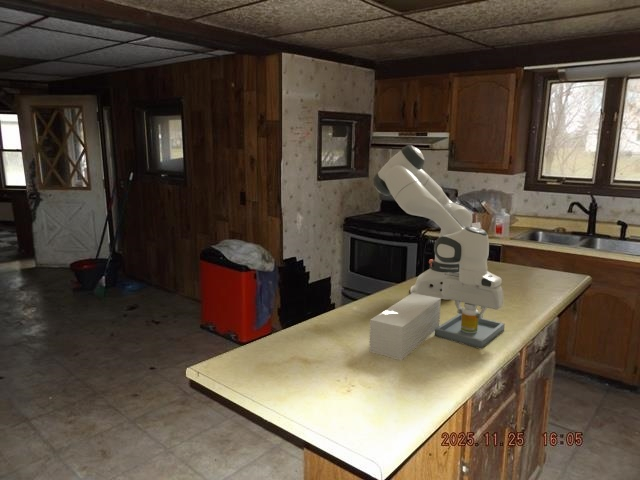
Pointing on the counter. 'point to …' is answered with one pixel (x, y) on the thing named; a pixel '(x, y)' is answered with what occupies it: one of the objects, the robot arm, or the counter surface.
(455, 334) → the slate tray
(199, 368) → the counter surface
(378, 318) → the light grey rectangular block
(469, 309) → the supplement bottle
